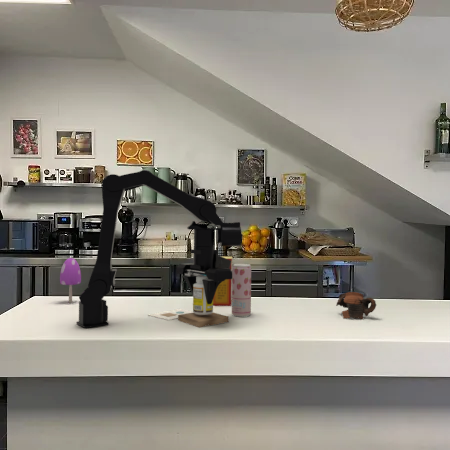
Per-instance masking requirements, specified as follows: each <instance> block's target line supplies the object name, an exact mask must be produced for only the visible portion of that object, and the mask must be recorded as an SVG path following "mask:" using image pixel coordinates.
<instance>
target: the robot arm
mask: <svg viewBox="0 0 450 450" xmlns="http://www.w3.org/2000/svg"><path fill="white" fill-rule="evenodd" d="M141 187H146V188H148V189H150V190H152V191H153V192H155V193H157V194H159V195H161V196H163V197H165V198H166V199H168V200H170V201H172V202H173V203H175V204H177V205H179V206H180V207H181V208H183V209H184V210H185V211H186V212H187V213H189V214H190V215H191V216H192V217H193V218H195V219H196V220H197V221H199V222H203V223H197V222H195V220H192V222H191V223H190V224H188V226H186V229H187V230H193V249H190V254H193V262H192V263H191V262H190V263H189V262H188V263H187V262H186V263H179V264H178V265H177V267H176V274H179V275H182V278H183V279H184V280H185V282H186V284H187V286H188V289H189V291H190V292H191V295H192V296H193V285H194V284H195V283H197V282H196V277H197V276H207V278H208V279H202V281H203V286H204V291H205V296H206V300H207V304H211V303H212V301H213V298H214V295H215V292H216V290H217V287H218V285H219V284H220V283H221V282H222V281H225V280H226V279H232V276H233V272H232V270H231V269H230V265H231V261H230V260H228V259H226V258H223V257H221V255H219V251H218V249H215V242H216V243H219V247H241V246H242V244H243V243H242V242H243V234H242V227H241V222H240V221H239V222H238V221H234V222H223V221H222V219H221V218H220V216H219V215H218V214H217V208H216V205H215V204H214V203H213V202H212V201H210V200H207V199H206V198H202V197H199V196H195V195H192V194H190V193H187V192H186V191H183V190H182V189H180V188H179V187H177V186H175V185H173V184H172V183H169V182H167V181H166V180H164V179H162V178H161V177H159V176H157V175H155V174H154V173H152V172H151V171H150V170H148V169H142V170H140V171H136V172H131V173H126V174H122V175H118V174H113V173H111V174H108V175H107V176H105V177H104V178H103V179H102V182H101V194H102V206H103V207H102V209H103V211H102V217H101V226H100V233H99V240H98V245H97V246H98V247H97V254H96V261H95V263H94V267H93V268H92V273H91V275H90V277H89V280H88V285H87V287H86V288H85V289H84V290H83V292H82V293H81V294H80V295H78V298H79V301H78V321H76V323H75V324H77V325H78V326H79V327H82V328H84V329H87V328H88V329H89V328H93V327H94V328H95V327H101V326H108V325H110V323H109V322H108V320H109V306H108V305H107V300H106V299H104V297H106V296H107V295H108V294H109V293H110V291H111V289H112V288H113V287H114V286H115V285H116V280H115V278H116V274H117V271H118V268H113V266H112V264H113V263H112V257H113V253H114V252H113V250H114V245H115V244H114V243H115V236H116V229H117V220H118V212H119V209H120V206H121V204H122V202H123V198H124V194H125V192H128V191H131V190H135V189H138V188H141ZM205 222H206V223H205ZM207 223H208V224H209V225H211V226H217V227H209V226H208V224H207Z"/></svg>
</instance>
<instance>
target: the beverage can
mask: <svg viewBox="0 0 450 450" xmlns="http://www.w3.org/2000/svg"><path fill="white" fill-rule="evenodd" d="M251 265H252V264H249V263H234V264H233V263H232V272H233V276H232V303H231V314H232V316H233V315H234V317H238V318H239V317H241V318H242V317H243V318H244V317H249V316H250V315H251V314H252V313H251V312H252V308H251V307H252V266H251Z"/></svg>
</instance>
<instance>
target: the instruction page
mask: <svg viewBox="0 0 450 450" xmlns="http://www.w3.org/2000/svg"><path fill="white" fill-rule="evenodd" d="M188 313H194V312H193V311H190V310H186V309H180V308H177V309H172V310H166V311H161V312H156V313H151V314H150V313H149V314H147V315H148V317H153V318H158V319H162V320H165V321H172V320H178V315H181V314H188Z"/></svg>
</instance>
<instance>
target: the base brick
mask: <svg viewBox="0 0 450 450" xmlns="http://www.w3.org/2000/svg"><path fill="white" fill-rule="evenodd" d="M229 318H230V317H229V316H227V315H224V314H221V313H217V312H214V311H213V313H212V314H209V315H198V314H195V313H188V314H181V315H178V318H177V321H179V322H182V323H186V324H187V325H191V326H193V327H197V328H202V327H203V326H204V327H209V326H213V325H214V324H215V325H220V324H219V323H221V324H225V323H224V322H226V323H229V321H230V320H229ZM215 325H214V326H215Z"/></svg>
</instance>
